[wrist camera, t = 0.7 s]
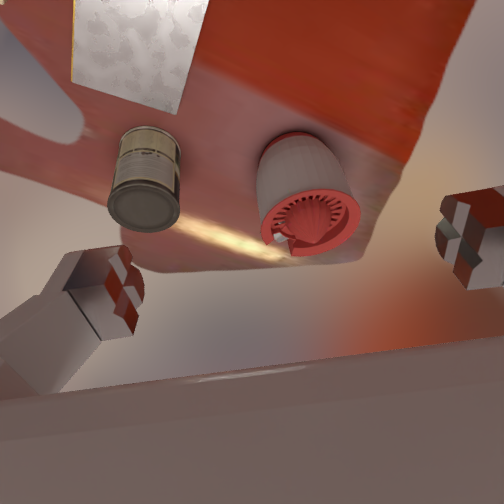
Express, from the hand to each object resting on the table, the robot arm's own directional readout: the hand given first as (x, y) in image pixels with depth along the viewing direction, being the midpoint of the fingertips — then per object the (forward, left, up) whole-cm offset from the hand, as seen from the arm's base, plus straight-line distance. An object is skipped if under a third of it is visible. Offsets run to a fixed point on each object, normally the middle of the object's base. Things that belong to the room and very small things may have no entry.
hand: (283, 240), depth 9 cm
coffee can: (+33, 0, -46) cm, 57 cm away
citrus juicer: (+27, +24, -46) cm, 59 cm away
